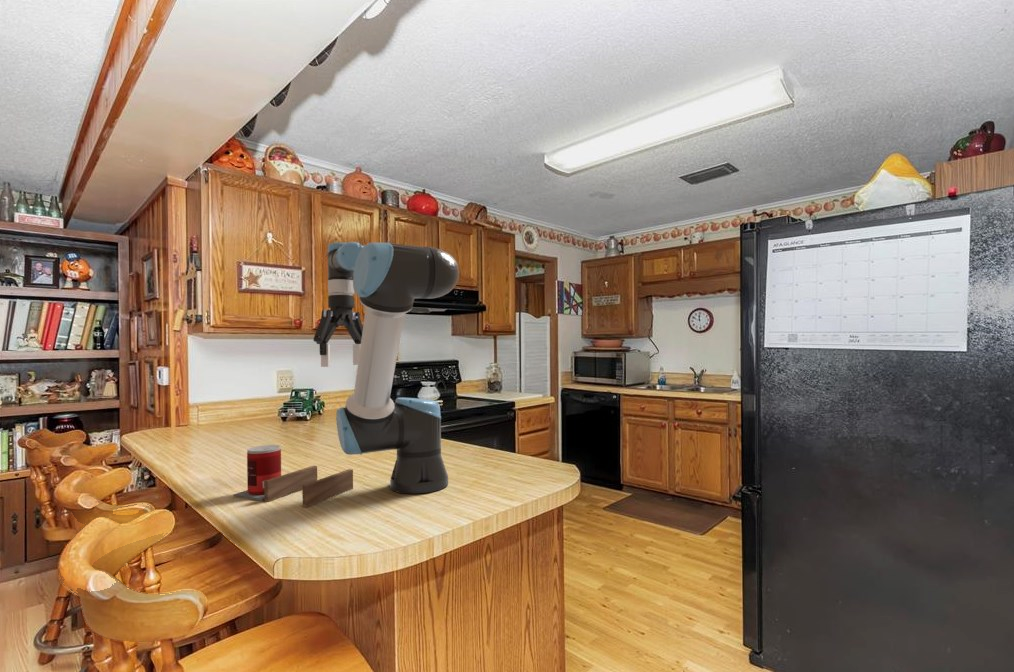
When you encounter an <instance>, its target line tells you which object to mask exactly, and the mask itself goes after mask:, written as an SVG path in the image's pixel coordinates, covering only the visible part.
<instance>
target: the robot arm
mask: <svg viewBox="0 0 1014 672" xmlns="http://www.w3.org/2000/svg"><path fill="white" fill-rule="evenodd" d="M327 245H328V246H327V253H326V257H327V290H328V292H327V293H328V294H329V295H328V296H327V307H328V308H329V309H323V310H321V318H320V320H319V322H318V326H317V328H316V332H315V334H314V336H313V342H315V343H316V344H317V345H319V355H320V367H321V368H322V367H323V368H325V367H327V368H331V344H330V343H328V342H329V341H330V340H331V338H332V337H333V334H334V332H335V331H336V329H337V328H338V327H344V328H345V329H346V330H347V332H348V334H349V335H350V337H351V339H352V341H353V342H354V343H352V365H353V366H357V369H356V376H355V381H354V382H355V383H354V391H353V393H352V394H351V395H350V396H348V397H347V398H346V401H345V407H343V406H341V407H339V408H338V409H337V410H336V411H335V418H336V419H335V421H336V422H335V423H336V429H337V436H338V441H339V444H340V448H341V450H342V452H344V453H345V454H346V455H349V456H350V455H351V456H353V455H363V454H370V453H375V452H378V453H379V452H384V451H392V450H396V459H395V462H394V466H393V470H392V472H391V475H390V484H389V485H390V486H389V487H390V490H392V491H393V492H395V493H400V494H410V495H411V494H416V495H417V494H427V493H433V492H436V491H440V490H443V489H445V488H446V487H448V485H449V475H448V472H447V469H446V466H445V462H444V460H443V457H442V431H441V429H442V423H441V422H442V416H441V415H442V414H441V406H440V403H439V402H438V401H436V400H432V399H425V398H417V397H396V399H395V402H394V401H393V399H392V398H391V393H392V388H393V381H394V376H395V371H396V366H397V365H396V364H397V360H398V359H397V358H398V352H399V347H400V340H401V335H402V331H403V330H402V329H403V325H404V318H405V314H407V313H410V311H412V310H413V306H414V301H415V299H416V300H417V299H423V300H424V299H425V300H426V299H430V300H431V299H436V298H437V299H438V298H441V297H444V296H445V295H447V294H449V293H450V292H451V291H453V290H454V288H455V287H456V285H457V284H458V282H459V278H460V268H459V265H458V263H457V260H456V259H455V258H454V257H453V256H452V255H451V254H450V253H449V252H447V251H445V250H442V249H439V248H437V247H431V246H421V245H420V246H419V245H409V244H401V243H392V242H367V243H366V244H364V245H362V244H361V243H359V242H357V241H349V242H341V241H340V242H337V241H336V242H331V243H329V244H327ZM354 294H355V295H356V296H358V297H359V302H360V304H362V306H363V307H364V309H365V310H364V317H363V324H362V320H361V314H360V312H358V311H357V312H354V311H353V309H354V308H355V296H354Z"/></svg>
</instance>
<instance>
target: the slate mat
mask: <svg viewBox="0 0 1014 672" xmlns="http://www.w3.org/2000/svg"><path fill="white" fill-rule="evenodd" d="M232 497H233V498H237V497H239V498H240V499H245V500H252V501H253V500H254V501H259V502H265V494H264V495H251V494H249V493H248V489H246V490H244V491H241V492H236V493H234V494H233V495H232Z"/></svg>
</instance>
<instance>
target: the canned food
mask: <svg viewBox="0 0 1014 672" xmlns="http://www.w3.org/2000/svg"><path fill="white" fill-rule="evenodd" d="M246 463H247V464H246V466H247V467H246V468H247V469H246V473H247V475H246V476H247V478H246V479H247V483H246V485H247V490H248V493H249V494H251V495H264V494H265V493H264V481H265V480H269V479H272V478H275V477H278V476H282V448H281V445H277V444H267V445H258V446H253V447H250V448H248V449H247V451H246Z"/></svg>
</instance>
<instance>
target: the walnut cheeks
mask: <svg viewBox="0 0 1014 672" xmlns="http://www.w3.org/2000/svg"><path fill="white" fill-rule="evenodd" d="M353 489H354V469H350V468H349V469H345V470H343V471H339V472H337V473H335V474H332V475H329V476H325V477H322V478H320V479H318V466H317V465H311V466H307V467H305V468H302V469H298V470H295V471H292V472H288V473H285V474H281V476H278V477H275V478H272V479H269V480H265V481H264V493H265V500H264V502H266V503H267V502H268V503H269V502H271V501H275V500H278V499H280V497H281V498H283V497H286V496H289V495H292V494H295V493H297V492H299V491H301V493H302V496H301V497H302V508H308V507H311V506H313V505H317V504H319V503H321V502H323V501H326V500H329V499H331V498H333V496H334V497H336V496H338V494H339V495H341V494H344V493H345V491H346V492H348V490H349V491H351V490H353ZM343 492H344V493H343ZM291 493H292V494H291ZM340 493H341V494H340ZM335 495H336V496H335ZM330 497H331V498H330ZM328 498H329V499H328Z"/></svg>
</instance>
